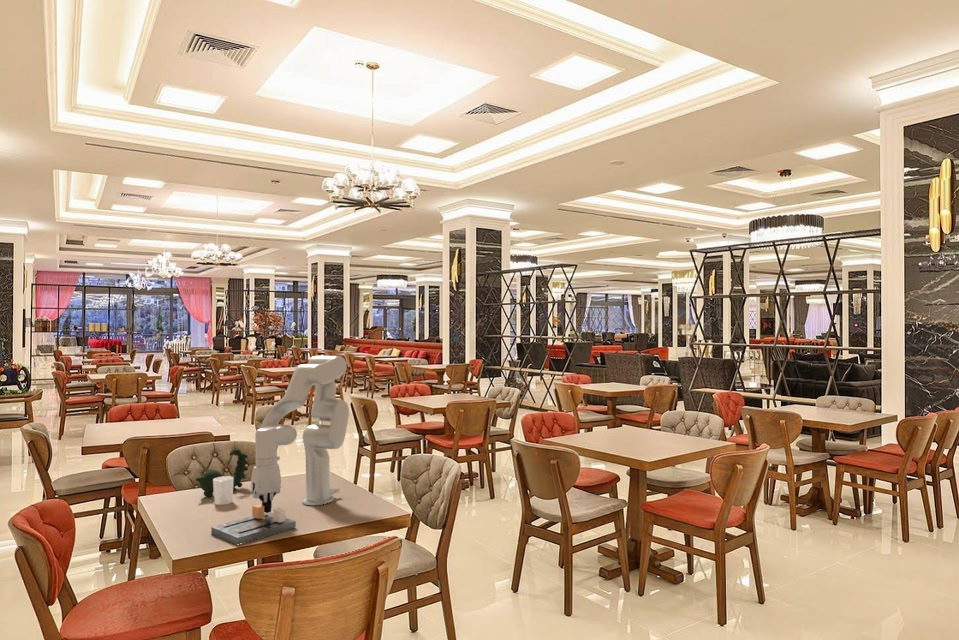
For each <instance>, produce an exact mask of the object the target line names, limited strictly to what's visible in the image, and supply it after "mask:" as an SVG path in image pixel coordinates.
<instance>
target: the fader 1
mask: <svg viewBox="0 0 959 640" xmlns="http://www.w3.org/2000/svg"><path fill="white" fill-rule="evenodd" d="M251 509H252V510H251V512H252V513H251V514H252V515H251V516H252V517H255V518H256V519H260V518H263V517H264V513H265V512H264V506H262V504H259V503H258V504H254V505H251Z"/></svg>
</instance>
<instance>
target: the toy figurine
mask: <svg viewBox="0 0 959 640" xmlns="http://www.w3.org/2000/svg"><path fill="white" fill-rule="evenodd" d="M232 455H236V456H237V460H236V466H235V469H234V470H235V471H234V472H233V474H231V475H230V476H231V477H234V480H233V493H234V492H235V491H236V487H237V488H242V486H243V482H241V480H242V479H247V477H248V476H247V474H245V472H246V471H248V470H249V469H248V467H246V465H247V464H248V463H249V462H248V460H246V459H248V455H246V453H245V452H244V453H243V452H242V451H241V450H240V449H237V448H235V449H232V450H231V451H230V453H229V456H232ZM223 476H226V475H224V474H223V473H221V472H220V471H219V470H217V469H209V470H206V471H205V472H203V473H202V475H200V477H197V478H195V480H196V481H197V482H198V484H199V488H200V489H201V490H203V491H204V492H203V496H205V497H206V498H210V497H213V496H214V490H213V479H214V478H217V477H223Z"/></svg>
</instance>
